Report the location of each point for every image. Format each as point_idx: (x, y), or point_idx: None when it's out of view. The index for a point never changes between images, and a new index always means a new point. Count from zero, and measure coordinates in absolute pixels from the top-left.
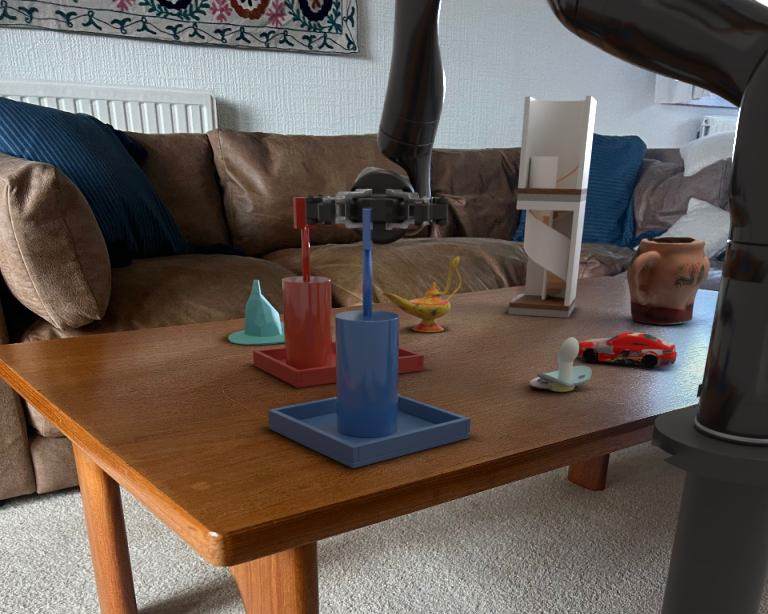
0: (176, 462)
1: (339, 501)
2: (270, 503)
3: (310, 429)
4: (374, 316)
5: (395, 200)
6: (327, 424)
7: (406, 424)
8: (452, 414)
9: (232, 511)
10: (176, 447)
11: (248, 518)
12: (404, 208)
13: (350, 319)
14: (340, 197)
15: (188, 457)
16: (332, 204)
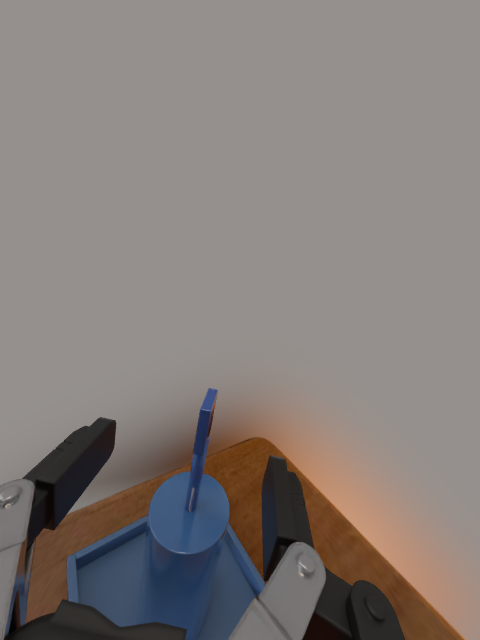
0: (324, 526)
1: (215, 453)
2: (248, 456)
3: (236, 536)
4: (183, 497)
5: (39, 619)
6: (217, 630)
7: (120, 620)
8: (76, 577)
9: (264, 451)
10: (346, 568)
11: (255, 444)
12: (18, 608)
13: (213, 481)
14: (272, 606)
15: (322, 537)
16: (271, 485)
